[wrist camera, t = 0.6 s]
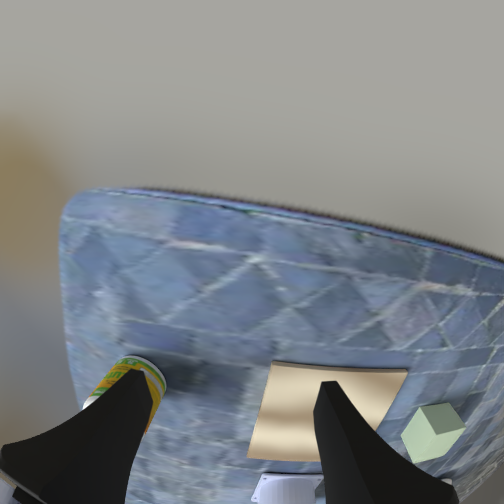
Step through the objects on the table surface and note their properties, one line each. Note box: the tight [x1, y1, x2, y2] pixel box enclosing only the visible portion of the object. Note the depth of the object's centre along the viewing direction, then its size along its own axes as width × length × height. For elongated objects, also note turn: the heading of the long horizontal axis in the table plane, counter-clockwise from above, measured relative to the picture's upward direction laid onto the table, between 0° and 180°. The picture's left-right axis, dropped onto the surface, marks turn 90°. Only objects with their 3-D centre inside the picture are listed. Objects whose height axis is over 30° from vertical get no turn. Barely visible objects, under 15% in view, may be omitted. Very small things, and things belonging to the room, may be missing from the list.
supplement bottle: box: [83, 356, 166, 443], centre depth 18 cm, size 5×5×10 cm
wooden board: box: [247, 361, 408, 461], centre depth 23 cm, size 14×13×1 cm
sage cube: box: [401, 403, 466, 463], centre depth 20 cm, size 5×5×5 cm
